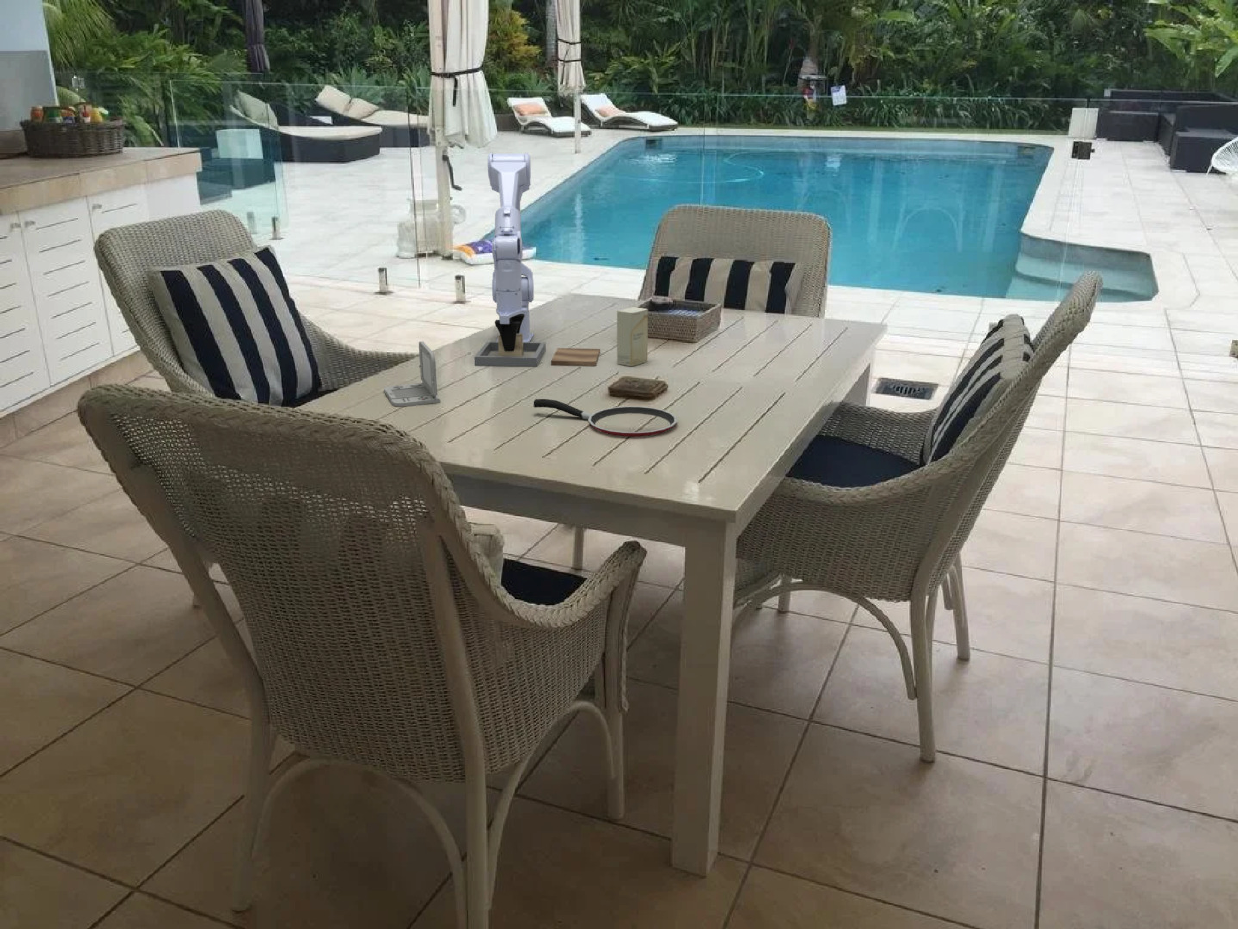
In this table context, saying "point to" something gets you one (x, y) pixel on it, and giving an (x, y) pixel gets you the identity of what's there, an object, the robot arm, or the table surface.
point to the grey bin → (485, 360)
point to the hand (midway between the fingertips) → (510, 348)
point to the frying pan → (608, 412)
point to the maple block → (517, 350)
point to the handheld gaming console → (417, 391)
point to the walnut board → (575, 357)
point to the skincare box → (632, 336)
